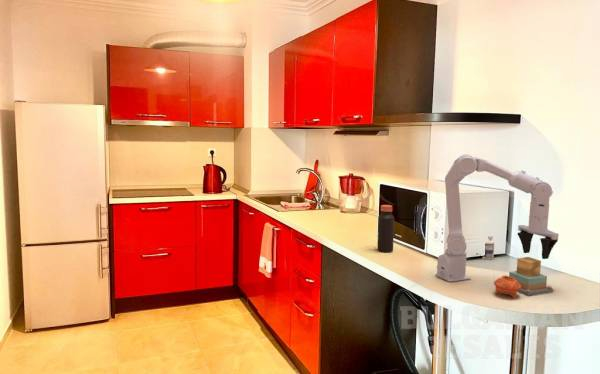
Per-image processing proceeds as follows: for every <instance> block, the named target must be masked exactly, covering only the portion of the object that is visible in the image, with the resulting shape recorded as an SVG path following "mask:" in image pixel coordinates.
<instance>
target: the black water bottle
mask: <svg viewBox="0 0 600 374" xmlns="http://www.w3.org/2000/svg"><path fill="white" fill-rule="evenodd" d="M392 213H393V205H391V204H382V205H380V214H379V216H378V217H377V218H378V219H377V225H378V226H377V251H378V252H380V253H392V252H393V251H394V238H395V237H394V232H395V217H394V215H393V214H392Z"/></svg>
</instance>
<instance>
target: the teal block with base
mask: <svg viewBox="0 0 600 374" xmlns="http://www.w3.org/2000/svg"><path fill="white" fill-rule="evenodd" d="M508 273H509V274H508V276H509V277H513V278H515V280H516V281H518V282H519V284H520V285H521V289H520V291H518V292H517V293H520V294H523V295H525V296H527V297H531V296H537V295H543V294H549V293H553V292H554V288H553V287H552V286H551V285H548V286H547V281H548V276H547V275H545V274H541V273H540V276H533V277H527V276H524V275H521V274H519V273H517V270H513V271H509V272H508Z"/></svg>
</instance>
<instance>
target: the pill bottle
mask: <svg viewBox="0 0 600 374" xmlns="http://www.w3.org/2000/svg"><path fill="white" fill-rule="evenodd" d="M488 239H489V241H487V242H486V243H485V255H484V256H483V257H482V258H481V259H483V260H493V259H494V258H495V257H494V255H495V241H494V235H493V236H488ZM492 240H493V241H492Z"/></svg>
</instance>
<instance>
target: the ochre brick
mask: <svg viewBox="0 0 600 374" xmlns="http://www.w3.org/2000/svg"><path fill="white" fill-rule="evenodd" d="M541 269H542V260H540V259H536V258H533V257H530V256H525V257H517V261H516V271H517V273H519V274H521V275H524V276H527V277H533V276H540V274H541Z"/></svg>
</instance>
